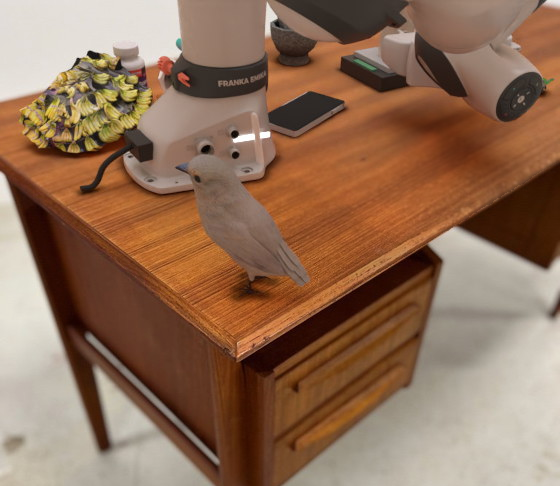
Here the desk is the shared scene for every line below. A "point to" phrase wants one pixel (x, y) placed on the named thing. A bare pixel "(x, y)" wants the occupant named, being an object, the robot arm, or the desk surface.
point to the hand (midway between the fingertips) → (426, 31)
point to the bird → (240, 223)
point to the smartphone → (303, 113)
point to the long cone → (165, 79)
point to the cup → (395, 29)
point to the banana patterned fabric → (86, 106)
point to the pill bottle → (131, 59)
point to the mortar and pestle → (290, 44)
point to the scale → (371, 70)
